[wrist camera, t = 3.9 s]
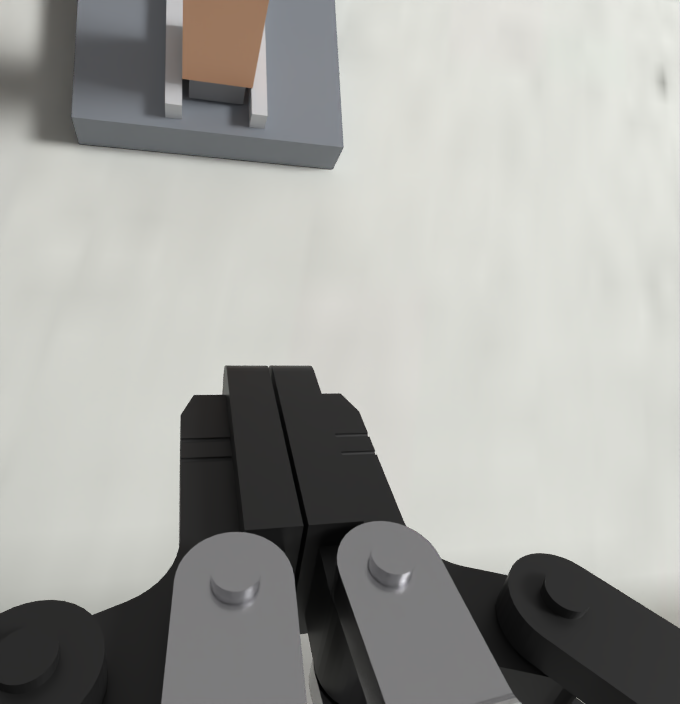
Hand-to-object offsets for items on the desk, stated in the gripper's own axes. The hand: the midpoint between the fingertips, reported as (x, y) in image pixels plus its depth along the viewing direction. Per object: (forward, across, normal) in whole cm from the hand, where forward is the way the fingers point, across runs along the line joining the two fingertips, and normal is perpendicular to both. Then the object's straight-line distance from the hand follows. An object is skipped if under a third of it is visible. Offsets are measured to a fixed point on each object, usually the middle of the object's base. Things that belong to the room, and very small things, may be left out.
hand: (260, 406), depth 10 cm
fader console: (+26, 0, -5) cm, 27 cm away
